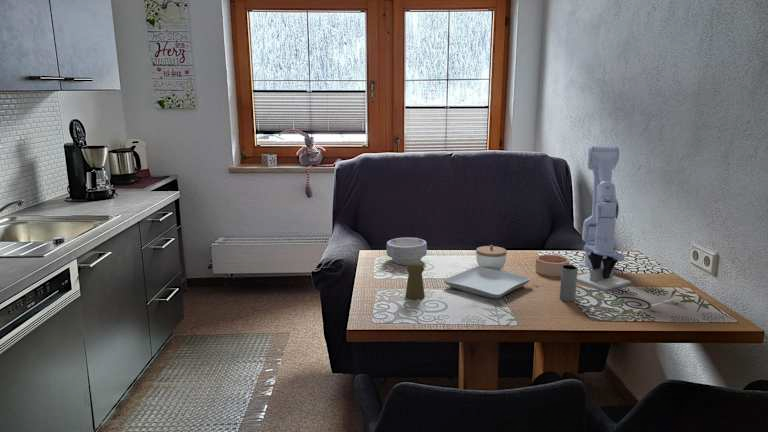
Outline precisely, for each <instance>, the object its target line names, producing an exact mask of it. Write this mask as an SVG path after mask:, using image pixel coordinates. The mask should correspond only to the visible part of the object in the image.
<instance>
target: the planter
mask: <svg viewBox="0 0 768 432" xmlns="http://www.w3.org/2000/svg"><path fill="white" fill-rule="evenodd" d="M577 276H578V267H577V266H576V265H574V264H573V265H572V264H569V265H563V266H562V272H561V276H560V288H559V289H560V290H559V299H560V300H561V301H564V302H574V301H576V293H577V292H576V291H577V283H576V282H577Z"/></svg>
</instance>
